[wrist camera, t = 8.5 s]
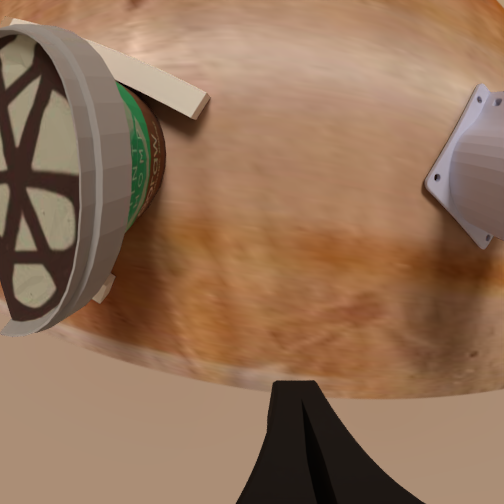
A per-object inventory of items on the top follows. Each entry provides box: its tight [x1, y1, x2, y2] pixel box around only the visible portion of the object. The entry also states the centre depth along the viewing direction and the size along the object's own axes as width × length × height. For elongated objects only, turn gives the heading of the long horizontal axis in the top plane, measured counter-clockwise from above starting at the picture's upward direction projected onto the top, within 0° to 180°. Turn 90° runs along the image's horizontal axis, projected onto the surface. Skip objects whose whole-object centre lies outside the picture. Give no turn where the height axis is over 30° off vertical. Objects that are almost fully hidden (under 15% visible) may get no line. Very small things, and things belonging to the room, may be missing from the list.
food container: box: [0, 24, 166, 337], centre depth 11 cm, size 12×6×10 cm, turn 179°
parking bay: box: [0, 16, 210, 304], centre depth 14 cm, size 14×18×2 cm
